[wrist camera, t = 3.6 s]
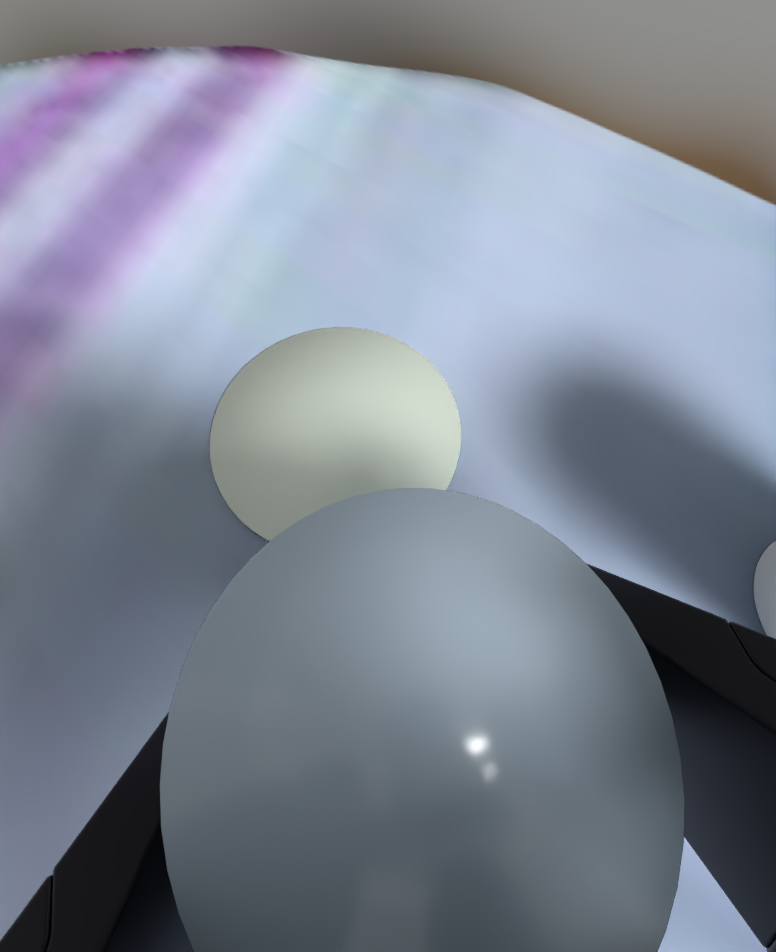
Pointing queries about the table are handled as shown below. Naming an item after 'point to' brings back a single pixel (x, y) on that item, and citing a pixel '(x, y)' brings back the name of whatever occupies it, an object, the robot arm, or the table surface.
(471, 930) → the grey cylinder
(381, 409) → the mat
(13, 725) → the table surface
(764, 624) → the cup
